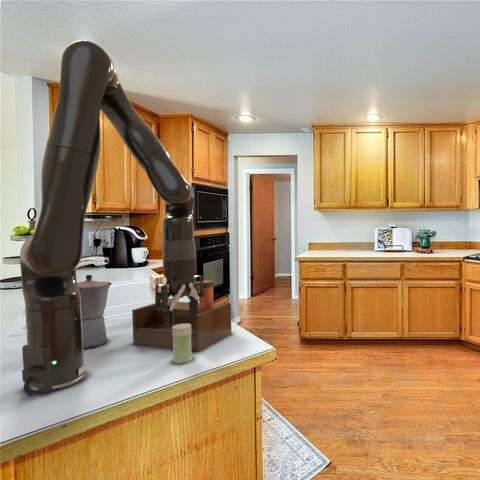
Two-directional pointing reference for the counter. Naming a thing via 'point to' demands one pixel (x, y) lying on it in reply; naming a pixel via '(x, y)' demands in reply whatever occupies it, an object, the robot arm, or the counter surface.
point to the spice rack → (202, 325)
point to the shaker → (182, 343)
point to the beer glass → (153, 282)
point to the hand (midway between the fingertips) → (182, 320)
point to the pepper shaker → (207, 295)
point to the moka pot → (93, 311)
